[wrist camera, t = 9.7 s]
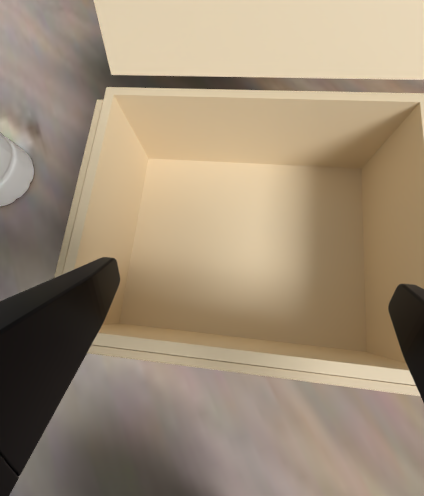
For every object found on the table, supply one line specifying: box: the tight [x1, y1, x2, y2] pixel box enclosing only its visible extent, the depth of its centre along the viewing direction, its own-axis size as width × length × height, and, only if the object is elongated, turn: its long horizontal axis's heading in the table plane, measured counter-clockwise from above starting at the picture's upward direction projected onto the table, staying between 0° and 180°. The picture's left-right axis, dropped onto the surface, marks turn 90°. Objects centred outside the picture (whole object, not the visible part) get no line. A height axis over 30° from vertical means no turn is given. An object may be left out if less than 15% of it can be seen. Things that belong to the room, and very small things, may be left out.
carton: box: [54, 87, 424, 396], centre depth 19 cm, size 16×21×8 cm
